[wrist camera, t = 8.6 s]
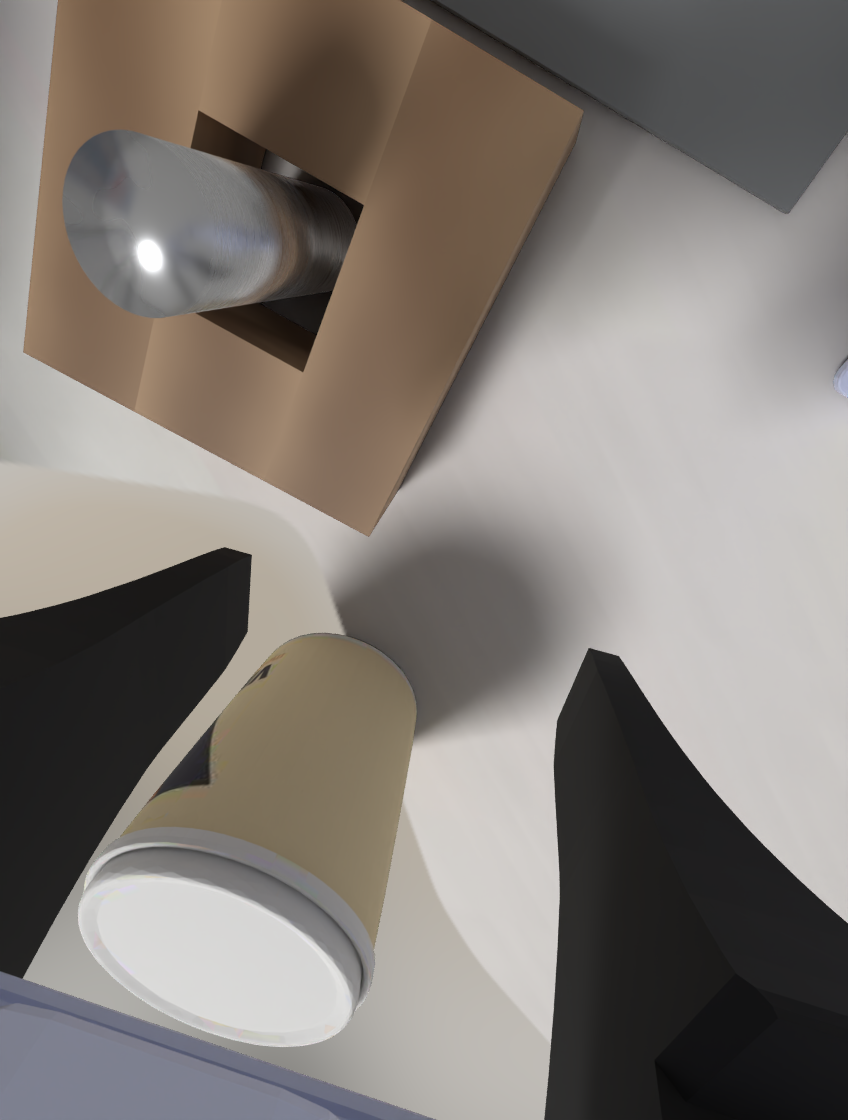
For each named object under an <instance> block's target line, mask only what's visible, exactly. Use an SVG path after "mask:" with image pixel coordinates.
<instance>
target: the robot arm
mask: <svg viewBox="0 0 848 1120" xmlns="http://www.w3.org/2000/svg"><path fill="white" fill-rule="evenodd" d="M833 384H834V388H835V390H836V391H837V392H839V393H840V394H842V395H843V396H845V397H847V398H848V359H847V360H846V362H845V363H844V364H843V365H842V366H841V367H840V368H839V370H838V371H837V373H836V374H835V376H834V381H833ZM251 558H252V555H250V554H247V553H243V552H239V551H236V550H232V549H229V548H225V547H224V548H221V549H217V550H215V551H211V552H209V553H206V554H203V555H201V556H198V557H195V558H193V559H190V560H187V561H185V562H182V563H180V564H177V565H174V566H172V567H169V568H167V569H164V570H162V571H159V572H156V573H153V574H151V575H148V576H146V577H143V578H140V579H138V580H135V581H132V582H129V583H126V584H123V585H120V586H117V587H114V588H111V589H108V590H105V591H102V592H99V593H96V594H93V595H90V596H87V597H83V598H80V599H77V600H73V601H69V602H66V603H62V604H59V605H55V606H51V607H47V608H43V609H39V610H35V611H31V612H27V613H22V614H18V615H13V616H8V617H3V618H0V1120H436V1119H433V1118H429V1117H427V1116H423V1115H421V1114H418V1113H415V1112H412V1111H409V1110H406V1109H403V1108H400V1107H397V1106H394V1105H391V1104H389V1103H385V1102H383V1101H380V1100H377V1099H374V1098H371V1097H368V1096H365V1095H362V1094H359V1093H356V1092H353V1091H350V1090H347V1089H344V1088H341V1087H338V1086H336V1085H333V1084H330V1083H327V1082H324V1081H320V1080H318V1079H315V1078H312V1077H309V1076H306V1075H303V1074H300V1073H297V1072H294V1071H292V1070H289V1069H286V1068H282V1067H279V1066H276V1065H274V1064H271V1063H268V1062H265V1061H262V1060H259V1059H256V1058H253V1057H250V1056H247V1055H244V1054H242V1053H239V1052H236V1051H233V1050H230V1049H227V1048H224V1047H221V1046H218V1045H215V1044H212V1043H209V1042H206V1041H203V1040H200V1039H197V1038H194V1037H192V1036H189V1035H186V1034H183V1033H180V1032H177V1031H174V1030H171V1029H168V1028H165V1027H162V1026H159V1025H156V1024H153V1023H150V1022H147V1021H144V1020H141V1019H138V1018H136V1017H133V1016H129V1015H127V1014H124V1013H121V1012H118V1011H115V1010H112V1009H109V1008H106V1007H103V1006H100V1005H97V1004H94V1003H92V1002H89V1001H86V1000H83V999H80V998H77V997H74V996H71V995H68V994H65V993H62V992H59V991H56V990H53V989H50V988H47V987H45V986H41V985H39V984H36V983H33V982H30V981H27V980H24V979H22V978H23V976H24V975H25V973H26V971H27V969H28V967H29V965H30V964H31V962H32V960H33V958H34V956H35V955H36V953H37V951H38V949H39V947H40V945H41V944H42V942H43V940H44V938H45V936H46V935H47V933H48V931H49V929H50V927H51V925H52V924H53V922H54V920H55V918H56V916H57V915H58V913H59V911H60V909H61V908H62V906H63V904H64V903H65V901H66V899H67V897H68V896H69V894H70V892H71V890H72V889H73V887H74V885H75V883H76V882H77V880H78V878H79V876H80V875H81V873H82V872H83V870H84V868H85V866H86V865H87V863H88V861H89V859H90V858H91V856H92V855H93V853H94V851H95V850H96V848H97V847H98V845H99V843H100V842H101V840H102V838H103V837H104V835H105V833H106V832H107V830H108V829H109V827H110V825H111V824H112V822H113V821H114V819H115V817H116V816H117V814H118V812H119V811H120V809H121V808H122V806H123V805H124V803H125V802H126V800H127V799H128V797H129V795H130V794H131V792H132V791H133V789H134V788H135V786H136V785H137V783H138V782H139V780H140V779H141V777H142V775H143V774H144V772H145V771H146V769H147V768H148V767H149V765H150V764H151V763H152V761H153V760H154V758H155V757H156V756H157V754H158V753H159V752H160V750H161V749H162V748H163V746H164V745H165V744H166V743H167V742H168V740H169V739H170V738H171V737H172V735H173V734H174V733H175V732H176V730H177V729H178V728H179V727H180V726H181V724H182V723H183V722H184V721H185V719H186V718H187V717H188V716H189V714H190V713H191V712H192V711H193V709H194V708H195V707H196V706H197V704H198V703H199V702H200V701H201V700H202V698H203V697H204V696H205V694H206V693H207V692H208V691H209V689H210V688H211V687H212V686H213V684H214V683H215V682H216V681H217V679H218V678H219V677H220V675H221V674H222V673H223V672H224V670H225V669H226V667H227V666H228V664H229V662H230V661H231V659H232V658H233V656H234V654H235V653H236V651H237V649H238V648H239V646H240V644H241V642H242V640H243V639H244V637H245V635H246V634H247V632H248V614H249V594H250V577H251ZM554 782H555V802H556V819H557V837H558V854H559V871H560V905H559V928H558V950H557V967H556V983H555V999H554V1014H553V1027H552V1039H551V1052H550V1065H549V1078H548V1088H547V1098H546V1108H545V1118H544V1119H545V1120H848V923H847V922H846V921H844V920H843V919H842V918H841V917H840V916H839V915H837V914H836V913H835V912H834V911H833V910H832V909H831V908H829V907H828V906H827V905H826V904H825V903H824V902H823V901H822V900H820V899H819V898H818V897H817V896H816V895H815V894H814V893H813V892H812V891H811V890H809V889H808V888H807V887H806V886H805V885H804V884H803V883H802V882H801V881H800V880H799V879H798V878H797V877H795V876H794V875H793V874H792V873H791V872H790V871H789V870H788V869H787V868H786V867H785V866H784V865H783V864H782V863H781V862H780V861H779V860H778V859H777V858H776V857H775V856H774V855H773V854H772V853H771V852H770V851H769V850H768V849H767V848H766V847H765V846H764V845H763V844H762V843H761V842H760V841H759V840H758V839H757V838H756V837H755V836H754V835H753V834H752V833H751V832H750V831H749V829H748V828H747V827H746V826H745V825H744V824H743V823H742V822H741V821H740V820H739V818H738V817H737V816H736V815H735V814H734V813H733V812H732V811H731V809H730V808H729V807H728V806H727V805H726V804H725V803H724V802H723V800H722V799H721V798H720V797H719V796H718V795H717V794H716V792H715V791H714V790H713V789H712V788H711V786H710V785H709V784H708V783H707V782H706V780H705V779H704V778H703V777H702V775H701V774H700V773H699V771H698V770H697V769H696V767H695V766H694V765H693V764H692V762H691V761H690V760H689V758H688V757H687V756H686V755H685V753H684V752H683V751H682V749H681V748H680V746H679V745H678V744H677V742H676V741H675V740H674V738H673V737H672V735H671V734H670V733H669V731H668V730H667V728H666V727H665V725H664V724H663V722H662V721H661V720H660V718H659V717H658V715H657V714H656V712H655V711H654V709H653V708H652V706H651V705H650V703H649V702H648V700H647V698H646V697H645V695H644V694H643V692H642V691H641V689H640V688H639V686H638V685H637V683H636V681H635V680H634V678H633V677H632V675H631V674H630V672H629V671H628V669H627V667H626V666H625V664H624V663H623V662H622V660H621V659H620V657H619V656H616V655H613V654H609V653H605V652H602V651H598V650H594V649H591V648H589V649H588V651H587V653H586V656H585V658H584V660H583V663H582V665H581V667H580V669H579V672H578V674H577V676H576V679H575V681H574V683H573V686H572V688H571V690H570V692H569V695H568V697H567V699H566V702H565V704H564V706H563V708H562V711H561V713H560V715H559V718H558V720H557V729H556V741H555V754H554Z"/></svg>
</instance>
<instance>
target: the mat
mask: <svg viewBox="0 0 848 1120" xmlns="http://www.w3.org/2000/svg"><path fill="white" fill-rule="evenodd" d="M431 1H433V2H435V3H436V4H438V5H440V6H441V7H443V8H445V9H446V10H448V11H450V12H451V13H453V14H455V15H456V16H458V17H460V18H461V19H463V20H465V21H466V22H468V23H470V24H471V25H473V26H475V27H476V28H478V29H480V30H481V31H483V32H485V33H486V34H488V35H490V36H491V37H493V38H494V39H496V40H498V41H499V42H501V43H503V44H504V45H506V46H508V47H509V48H511V49H513V50H514V51H516V52H518V53H519V54H521V55H523V56H524V57H526V58H528V59H529V60H531V61H533V62H534V63H536V64H538V65H539V66H541V67H543V68H544V69H546V70H548V71H549V72H551V73H552V74H554V75H556V76H557V77H559V78H561V79H562V80H564V81H566V82H567V83H569V84H571V85H572V86H574V87H576V88H577V89H579V90H581V91H582V92H584V93H586V94H587V95H589V96H591V97H592V98H594V99H596V100H597V101H599V102H601V103H602V104H604V105H606V106H607V107H609V108H611V109H612V110H614V111H615V112H617V113H619V114H620V115H622V116H624V117H625V118H627V119H629V120H630V121H632V122H634V123H635V124H637V125H639V126H640V127H642V128H644V129H645V130H647V131H649V132H650V133H652V134H654V135H655V136H657V137H659V138H660V139H662V140H664V141H665V142H667V143H669V144H670V145H672V146H674V147H675V148H677V149H678V150H680V151H682V152H683V153H685V154H687V155H688V156H690V157H692V158H693V159H695V160H697V161H698V162H700V163H702V164H703V165H705V166H707V167H708V168H710V169H712V170H713V171H715V172H717V173H718V174H720V175H722V176H723V177H725V178H727V179H728V180H730V181H732V182H733V183H735V184H737V185H738V186H740V187H741V188H743V189H745V190H746V191H748V192H750V193H751V194H753V195H755V196H756V197H758V198H760V199H761V200H763V201H765V202H766V203H768V204H770V205H771V206H773V207H775V208H776V209H778V210H780V211H781V212H783V213H785V214H786V213H789V212H790V211H791V209H792V208H793V207H794V205H795V204H796V202H797V201H798V200H799V198H800V197H801V195H802V194H803V193H804V191H805V190H806V188H807V187H808V186H809V184H810V183H811V181H812V180H813V179H814V177H815V176H816V174H817V173H818V172H819V170H820V169H821V167H822V166H823V165H824V163H825V162H826V160H827V159H828V158H829V156H830V155H831V153H832V152H833V151H834V149H835V148H836V146H837V145H838V144H839V142H840V141H841V139H842V138H843V137H844V135H845V134H846V132H847V131H848V0H431Z"/></svg>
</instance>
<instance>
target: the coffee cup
mask: <svg viewBox="0 0 848 1120" xmlns="http://www.w3.org/2000/svg"><path fill="white" fill-rule="evenodd" d="M416 716H417V706H416V699H415V695H414V692H413V689H412V687H411V685H410V683H409V681H408V679H407V677H406V676H405V674H404V673H403V672H402V670H401V669H400V668H399V667H398V666H397V665H396V664H395V663H394V662H393V661H392V660H391V659H390V658H389V657H387V656H386V655H385V654H384V653H382V652H381V651H379V650H378V649H376V648H374V647H373V646H371V645H369V644H367V643H365V642H363V641H360V640H357V639H355V638H351V637H348V636H344V635H339V634H330V633H314V634H307V635H302V636H299V637H297V638H294V639H291V640H289V641H287V642H286V643H284V644H283V645H282V646H280V647H279V648H278V649H276V650H275V651H274V652H273V653H272V655H271V656H270V657H269V658H268V659H267V660H266V661H265V662H264V663H263V665H261V667H260V668H259V669H258V670H257V671H256V672H255V674H254V675H253V676H252V677H251V678H250V679H249V681H248V682H247V683H246V684H245V686H244V687H243V688H242V689H241V690H240V691H239V693H238V694H237V695H236V696H235V697H234V699H233V700H232V701H231V702H230V703H229V705H228V706H227V707H226V708H225V709H224V711H223V712H222V713H221V714H220V715H219V716H218V718H217V719H216V720H215V721H214V723H213V724H212V725H211V726H210V727H209V728H208V730H207V731H206V732H205V733H204V734H203V736H202V737H201V738H200V739H199V740H198V742H197V743H196V744H195V745H194V746H193V748H192V749H191V750H190V751H189V752H188V754H187V755H186V756H185V757H184V759H183V760H182V761H181V762H180V764H179V765H178V766H177V767H176V768H175V769H174V771H173V772H172V773H171V774H170V775H169V777H168V778H167V779H166V780H165V781H164V783H163V784H162V785H161V786H160V788H159V789H158V790H157V791H156V792H155V794H154V795H153V796H152V797H151V799H150V800H149V801H148V802H147V804H146V805H145V806H144V807H143V809H142V810H141V811H140V812H139V814H138V815H137V816H136V817H135V819H134V820H133V821H132V822H131V824H130V825H129V826H128V827H127V829H126V830H125V831H124V832H123V834H122V835H121V836H120V838H118V839H116V840H115V841H113V842H112V843H111V844H110V845H108V846H107V847H106V849H105V850H104V851H103V852H102V853H101V854H100V855H99V856H98V858H97V859H96V860H95V861H94V863H93V864H92V866H91V868H90V870H89V872H88V873H87V876H86V879H85V883H84V893H83V894H82V897H81V900H80V904H79V908H78V921H79V928H80V932H81V935H82V937H83V939H84V941H85V944H86V945H87V947H88V949H89V950H90V952H91V953H92V954H93V956H94V957H95V959H96V960H97V962H98V963H99V964H100V965H101V966H102V967H103V968H104V969H105V970H106V971H107V972H108V973H109V974H110V975H111V976H112V977H113V978H114V979H115V980H116V981H118V982H119V983H120V984H121V985H122V986H124V987H125V988H126V989H127V990H129V991H130V992H131V993H132V994H134V995H136V996H137V997H138V998H140V999H141V1000H143V1001H144V1002H146V1003H148V1004H149V1005H150V1006H152V1007H153V1008H155V1009H157V1010H159V1011H161V1012H163V1013H165V1014H167V1015H169V1016H171V1017H173V1018H175V1019H177V1020H179V1021H181V1022H183V1023H186V1024H188V1025H190V1026H193V1027H195V1028H198V1029H200V1030H203V1031H206V1032H208V1033H212V1034H215V1035H218V1036H221V1037H225V1038H228V1039H232V1040H236V1041H241V1042H246V1043H251V1044H256V1045H264V1046H277V1047H290V1046H305V1045H309V1044H314V1043H318V1042H321V1041H324V1040H326V1039H329V1038H331V1037H333V1036H334V1035H335V1034H337V1033H338V1032H340V1031H341V1030H342V1029H343V1028H344V1027H345V1026H346V1025H347V1024H348V1022H349V1021H350V1020H351V1018H352V1016H353V1014H354V1012H355V1010H357V1009H358V1008H359V1006H360V1005H362V1003H363V1002H364V1000H365V999H366V997H367V994H368V992H369V990H370V987H371V984H372V979H373V972H374V966H375V954H374V946H375V942H376V937H377V932H378V927H379V922H380V917H381V912H382V907H383V901H384V897H385V892H386V887H387V882H388V876H389V871H390V865H391V859H392V855H393V849H394V844H395V839H396V833H397V828H398V822H399V816H400V811H401V806H402V800H403V795H404V789H405V784H406V778H407V772H408V767H409V761H410V756H411V750H412V745H413V738H414V731H415V724H416Z"/></svg>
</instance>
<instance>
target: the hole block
mask: <svg viewBox="0 0 848 1120" xmlns="http://www.w3.org/2000/svg"><path fill="white" fill-rule="evenodd" d="M583 112H584V110H582V109H580V108H579V107H577V106H575V105H574V104H572V103H570V102H569V101H567V100H565V99H564V98H562V97H560V96H559V95H557V94H555V93H554V92H552V91H550V90H549V89H547V88H545V87H544V86H542V85H540V84H539V83H537V82H535V81H534V80H532V79H530V78H529V77H527V76H525V75H524V74H522V73H520V72H519V71H517V70H515V69H514V68H512V67H510V66H509V65H507V64H505V63H504V62H502V61H500V60H499V59H497V58H495V57H494V56H492V55H490V54H489V53H487V52H485V51H484V50H482V49H481V48H479V47H477V46H476V45H474V44H472V43H471V42H469V41H467V40H466V39H464V38H462V37H461V36H459V35H457V34H456V33H454V32H452V31H451V30H449V29H447V28H446V27H444V26H442V25H441V24H439V23H437V22H436V21H434V20H432V19H431V18H429V17H427V16H426V15H424V14H422V13H421V12H419V11H417V10H416V9H414V8H412V7H411V6H409V5H407V4H406V3H404V2H402V1H401V0H58V6H57V16H56V26H55V36H54V46H53V57H52V67H51V77H50V87H49V97H48V107H47V117H46V127H45V138H44V148H43V158H42V168H41V178H40V188H39V198H38V209H37V219H36V229H35V239H34V249H33V259H32V269H31V279H30V290H29V300H28V310H27V320H26V330H25V340H24V350H23V352H24V353H26V354H28V355H29V356H31V357H33V358H35V359H37V360H39V361H41V362H43V363H44V364H46V365H48V366H50V367H52V368H54V369H56V370H58V371H59V372H61V373H63V374H65V375H67V376H69V377H71V378H73V379H74V380H76V381H78V382H80V383H82V384H84V385H86V386H87V387H89V388H91V389H93V390H95V391H97V392H99V393H101V394H102V395H104V396H106V397H108V398H110V399H112V400H114V401H116V402H117V403H119V404H121V405H123V406H125V407H127V408H129V409H131V410H132V411H134V412H136V413H138V414H140V415H142V416H144V417H145V418H147V419H149V420H151V421H153V422H155V423H157V424H159V425H160V426H162V427H164V428H166V429H168V430H170V431H172V432H174V433H175V434H177V435H179V436H181V437H183V438H185V439H187V440H189V441H190V442H192V443H194V444H196V445H198V446H200V447H202V448H203V449H205V450H207V451H209V452H211V453H213V454H215V455H217V456H218V457H220V458H222V459H224V460H226V461H228V462H230V463H232V464H233V465H235V466H237V467H239V468H241V469H243V470H245V471H247V472H248V473H250V474H252V475H254V476H256V477H258V478H260V479H261V480H263V481H265V482H267V483H269V484H271V485H273V486H275V487H276V488H278V489H280V490H282V491H284V492H286V493H288V494H290V495H291V496H293V497H295V498H297V499H299V500H301V501H303V502H305V503H306V504H308V505H310V506H312V507H314V508H316V509H318V510H319V511H321V512H323V513H325V514H327V515H329V516H331V517H333V518H334V519H336V520H338V521H340V522H342V523H344V524H346V525H348V526H349V527H351V528H353V529H355V530H357V531H359V532H361V533H363V534H364V535H366V536H368V537H369V536H370V534H371V533H372V531H373V529H374V528H375V526H376V525H377V523H378V522H379V520H380V518H381V517H382V515H383V514H384V512H385V511H386V509H387V507H388V506H389V504H390V503H391V501H392V499H393V498H394V496H395V495H396V493H397V491H398V489H399V488H400V486H401V484H402V482H403V480H404V478H405V476H406V474H407V472H408V470H409V468H410V466H411V464H412V462H413V460H414V458H415V456H416V454H417V452H418V450H419V448H420V446H421V444H422V442H423V441H424V439H425V437H426V435H427V433H428V431H429V429H430V427H431V425H432V423H433V421H434V419H435V417H436V415H437V413H438V411H439V409H440V407H441V405H442V403H443V401H444V399H445V397H446V395H447V394H448V392H449V390H450V388H451V386H452V384H453V382H454V380H455V378H456V376H457V374H458V372H459V370H460V368H461V366H462V364H463V362H464V360H465V358H466V356H467V354H468V352H469V350H470V348H471V346H472V345H473V343H474V341H475V339H476V337H477V335H478V333H479V331H480V329H481V327H482V325H483V323H484V321H485V319H486V317H487V315H488V313H489V311H490V309H491V307H492V305H493V303H494V301H495V299H496V298H497V296H498V294H499V292H500V290H501V288H502V286H503V284H504V282H505V280H506V278H507V276H508V274H509V272H510V270H511V268H512V266H513V264H514V262H515V260H516V258H517V256H518V254H519V252H520V250H521V249H522V247H523V245H524V243H525V241H526V239H527V237H528V235H529V233H530V231H531V229H532V227H533V225H534V223H535V221H536V219H537V217H538V215H539V213H540V211H541V209H542V207H543V205H544V203H545V202H546V200H547V198H548V196H549V194H550V192H551V190H552V188H553V186H554V184H555V182H556V180H557V178H558V176H559V174H560V172H561V170H562V168H563V166H564V164H565V162H566V160H567V158H568V156H569V154H570V153H571V151H572V149H573V147H574V145H575V143H576V140H577V136H578V132H579V128H580V124H581V120H582V116H583ZM110 130H129V131H134V132H138V133H141V134H144V135H148V136H151V137H155V138H158V139H161V140H165V141H168V142H171V143H175V144H178V145H181V146H185V147H188V148H191V149H195V150H198V151H202V152H205V153H208V154H212V155H215V156H218V157H222V158H225V159H228V160H232V161H235V162H239V163H242V164H245V165H249V166H252V167H255V168H259V169H261V165H262V161H263V158H264V154H265V150H266V149H267V150H269V151H271V152H272V153H274V154H276V155H278V156H279V157H281V158H283V159H285V160H286V161H288V162H290V163H292V164H293V165H295V166H297V167H299V168H300V169H302V170H304V171H305V172H307V173H309V174H311V175H312V176H314V177H316V178H318V179H319V180H321V181H323V182H325V183H326V184H328V185H330V186H332V187H333V188H335V189H337V190H339V191H340V192H342V193H344V194H346V195H347V196H349V197H351V198H353V199H354V200H356V201H358V202H359V203H361V204H363V205H364V207H363V210H362V213H361V215H360V218H359V221H358V224H357V226H356V229H355V232H354V235H353V237H352V240H351V243H350V246H349V248H348V251H347V254H346V257H345V259H344V262H343V265H342V268H341V270H340V273H339V276H338V279H337V281H336V284H335V287H334V290H333V292H332V295H331V298H330V301H329V303H328V306H327V309H326V312H325V314H324V317H323V320H322V322H321V325H320V328H319V331H318V333H317V335H315V334H313V333H311V332H310V331H308V330H306V329H304V328H302V327H301V326H299V325H297V324H295V323H293V322H292V321H290V320H288V319H286V318H284V317H283V316H281V315H279V314H277V313H275V312H274V311H272V310H270V309H268V308H266V307H265V306H263V305H261V304H259V303H253V304H247V305H241V306H234V307H228V308H222V309H215V310H209V311H203V312H196V313H190V314H184V315H177V316H171V317H164V318H148V317H142V316H139V315H136V314H133V313H130V312H128V311H126V310H124V309H122V308H121V307H119V306H117V305H116V304H114V303H113V302H112V301H110V300H109V299H108V298H107V297H105V296H104V295H103V294H102V293H101V292H100V291H99V290H98V289H97V288H96V286H95V285H94V284H93V283H92V282H91V281H90V279H89V278H88V276H87V275H86V274H85V272H84V271H83V269H82V267H81V266H80V264H79V262H78V260H77V258H76V256H75V254H74V252H73V250H72V247H71V244H70V241H69V239H68V235H67V231H66V227H65V222H64V216H63V203H62V199H63V187H64V180H65V176H66V173H67V170H68V167H69V165H70V163H71V160H72V158H73V157H74V155H75V154H76V152H77V151H78V149H79V148H80V147H81V146H82V145H83V144H84V143H85V142H86V141H88V140H89V139H90V138H92V137H93V136H95V135H97V134H100V133H102V132H106V131H110Z"/></svg>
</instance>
